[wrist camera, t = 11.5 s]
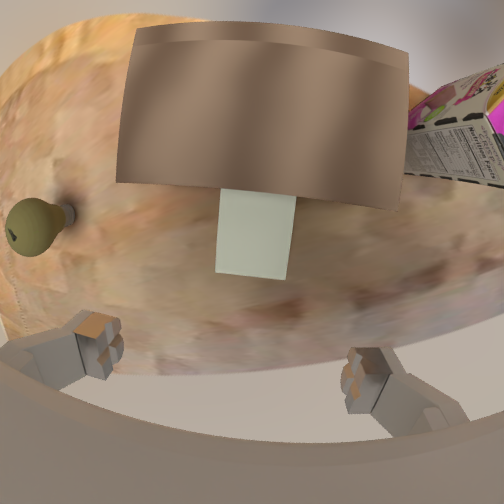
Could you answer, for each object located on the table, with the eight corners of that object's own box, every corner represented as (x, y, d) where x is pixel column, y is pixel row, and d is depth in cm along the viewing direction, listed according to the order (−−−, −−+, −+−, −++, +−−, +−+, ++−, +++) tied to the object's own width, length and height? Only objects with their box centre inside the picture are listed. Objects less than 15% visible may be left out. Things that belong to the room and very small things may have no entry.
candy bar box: (439, 83, 22) (546, 47, 6) (464, 121, 22) (576, 112, 7) (373, 135, 24) (486, 111, 8) (402, 176, 25) (523, 199, 9)
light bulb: (95, 201, 27) (33, 219, 18) (82, 245, 29) (25, 276, 19) (61, 181, 27) (-1, 193, 17) (50, 224, 29) (-7, 247, 19)
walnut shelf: (364, 86, 23) (408, 52, 13) (354, 195, 26) (397, 212, 16) (178, 68, 23) (136, 28, 14) (166, 175, 26) (115, 182, 17)
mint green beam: (302, 99, 24) (307, 88, 20) (283, 264, 28) (285, 280, 24) (237, 93, 24) (231, 81, 20) (222, 257, 28) (214, 272, 25)
